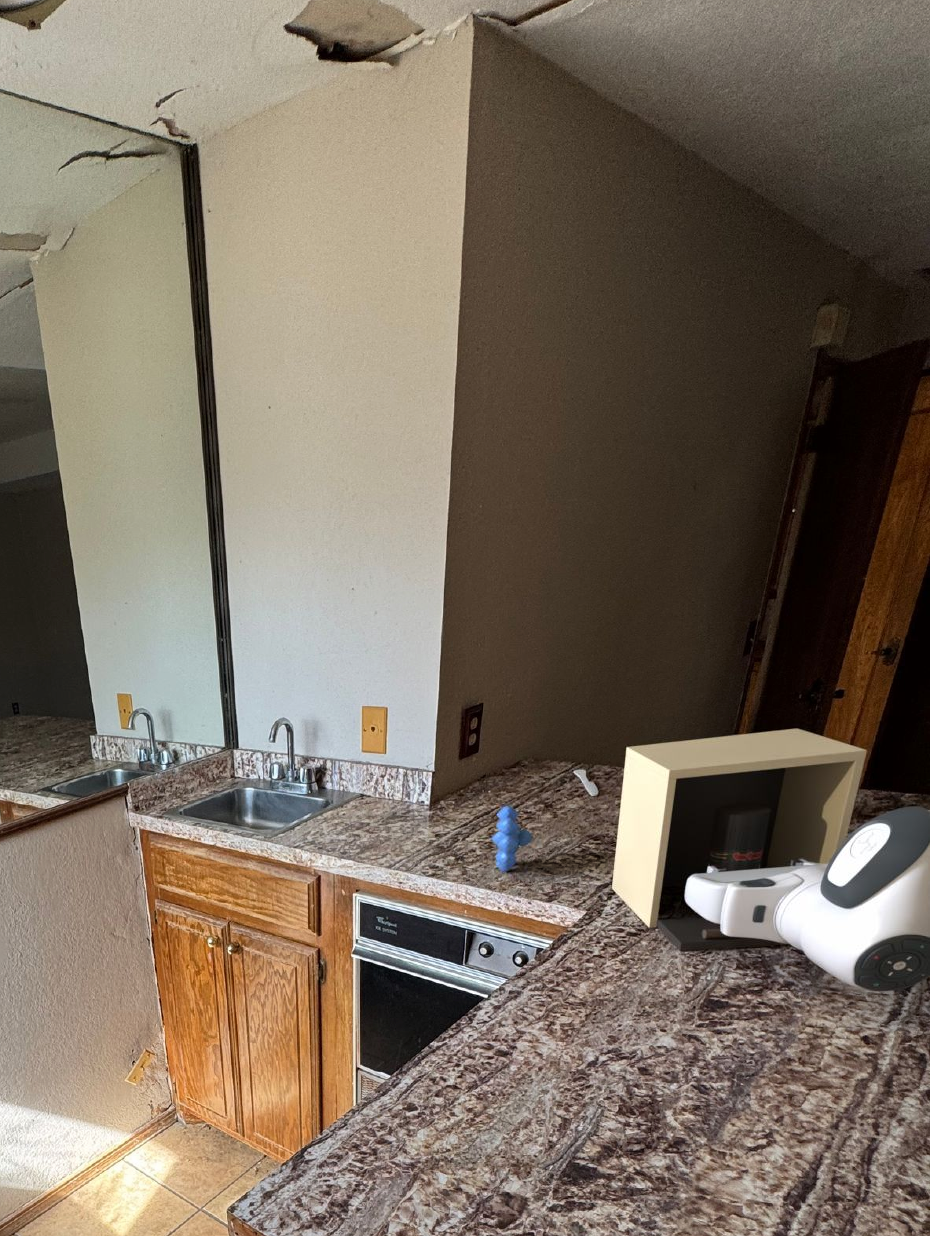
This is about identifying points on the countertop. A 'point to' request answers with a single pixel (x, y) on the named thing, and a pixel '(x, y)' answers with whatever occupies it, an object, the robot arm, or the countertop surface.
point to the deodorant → (739, 836)
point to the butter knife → (587, 782)
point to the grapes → (509, 838)
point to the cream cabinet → (719, 775)
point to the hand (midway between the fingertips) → (752, 867)
